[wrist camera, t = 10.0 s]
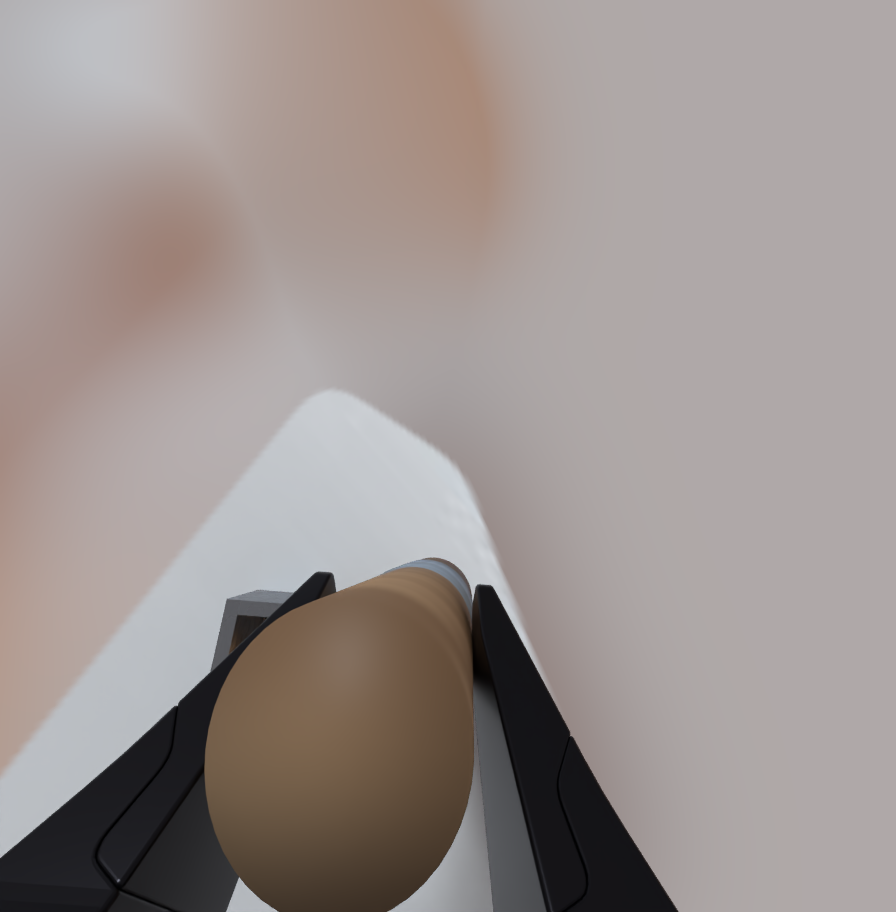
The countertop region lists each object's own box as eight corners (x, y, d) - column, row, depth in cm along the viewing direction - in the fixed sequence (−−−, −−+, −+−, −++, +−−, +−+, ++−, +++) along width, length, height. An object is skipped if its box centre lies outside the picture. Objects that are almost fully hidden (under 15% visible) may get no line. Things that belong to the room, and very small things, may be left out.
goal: (300, 737, 18) (274, 775, 15) (228, 732, 18) (188, 769, 15) (323, 595, 20) (303, 605, 17) (257, 590, 20) (227, 598, 17)
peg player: (471, 647, 14) (470, 955, 4) (388, 640, 15) (167, 904, 4) (474, 559, 15) (483, 603, 5) (396, 553, 16) (235, 583, 5)
